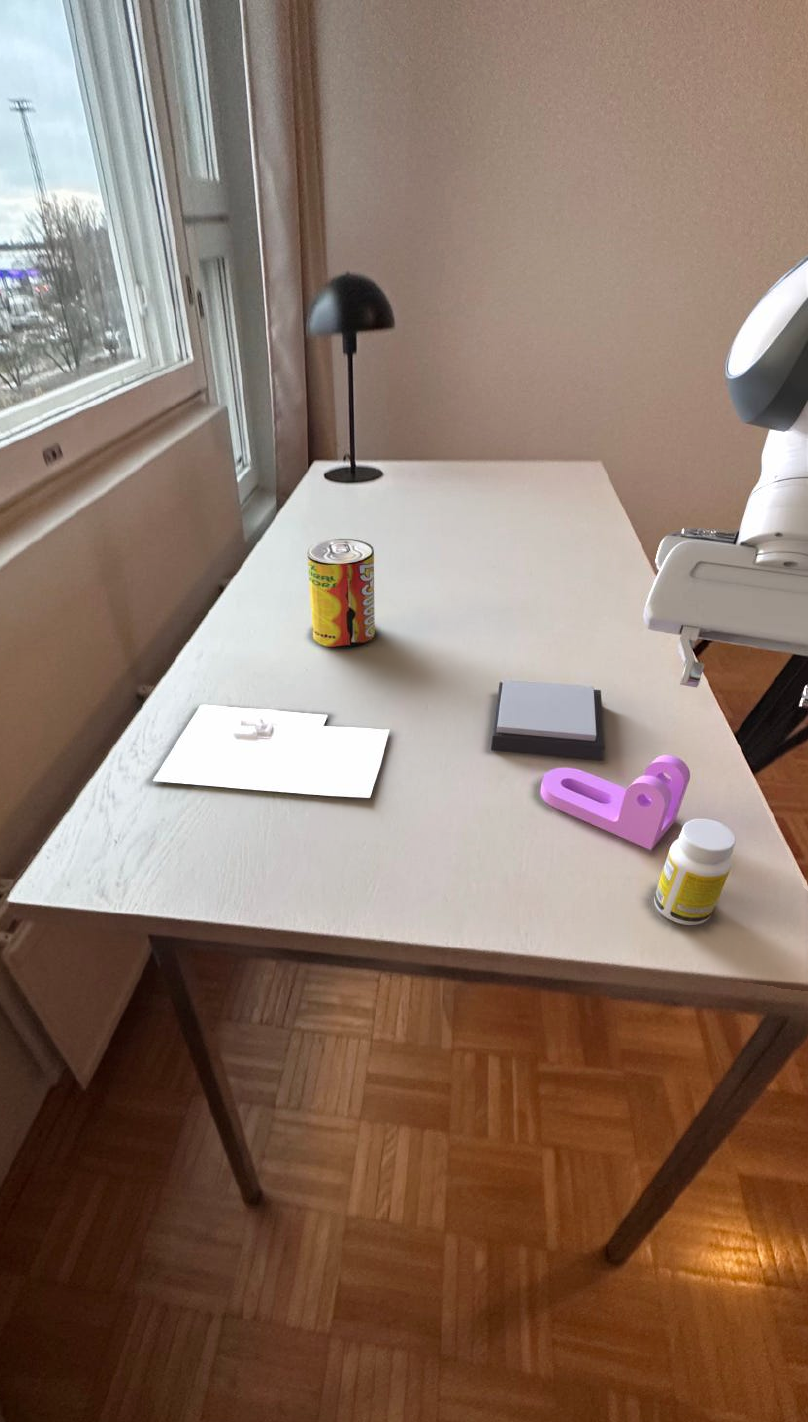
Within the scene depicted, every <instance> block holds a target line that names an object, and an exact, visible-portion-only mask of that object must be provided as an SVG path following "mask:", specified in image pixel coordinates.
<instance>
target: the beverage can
mask: <svg viewBox="0 0 808 1422" xmlns="http://www.w3.org/2000/svg"><path fill="white" fill-rule="evenodd" d="M306 553H307V568H308V569H307V570H308V584H309V597H310V610H311V611H310V612H311V625H312V627H311V628H312V639H314V641H315V642H316V643H317V644H319V645H321V646H324V647H327V648H332V649H351V648H356V647H359V646H362V645H365V644H367V643H369V642H370V641H371V640H372V639H373V638H374V637H375V634H376V631H375V630H376V629H375V627H376V624H375V623H376V622H375V620H376V619H375V617H376V616H375V614H376V613H375V549H374V547H373V546H372V545H371V544H370V543H369V542H366V541H363V540H359V539H354V538H353V539H352V538H335V539H327V540H323V541H320V542H317V543H315V544H313V545H311V546H310V547H309V548H308V549H307V550H306Z"/></svg>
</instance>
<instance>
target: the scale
mask: <svg viewBox="0 0 808 1422" xmlns="http://www.w3.org/2000/svg"><path fill="white" fill-rule="evenodd" d="M603 714H604V713H603V700H602V690H601V689H595V687H594V685H593V686H592V685H579V684H567V683H566V684H565V683H555V682H554V683H553V682H541V681H540V682H539V681H527V680H514V679H502V682H499V684H498V692H497V698H496V707H495V715H494V722H493V730H492V736H491V746H490V751H494V752H504V753H505V752H506V753H515V754H526V755H538V756H548V757H558V758H568V759H569V758H570V759H577V760H579V759H580V760H589V761H602V760H603V756H604V752H605V747H606V745H605V728H604V716H603Z"/></svg>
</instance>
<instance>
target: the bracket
mask: <svg viewBox="0 0 808 1422" xmlns="http://www.w3.org/2000/svg"><path fill="white" fill-rule="evenodd" d="M665 774H667V775H668V776H669V777H670V778H669V777H667V776H666V775H665ZM690 779H691V772H690V768H689V767H688V765H687V764H686V762H685V761H684V760H682V759H681V758H679V757H677V756H675V755H672V754H662V755H659V756H658V757H656V758H654V760H653V761H652V762H651V763H650V764H649V765H648V766H647V767H646V769H645V771H644V775H642V776H638V777H637V778H636V779H635V780H634V781H633V782H632V783H631V784H630V785H629V786H628V787H627V788H625V787H623V786H621V785H619V784H615V783H614V782H612V781H609V780H606V779H604V778H601V777H599V776H596V775H594V774H591V773H589V772H587V771H584V770H581V769H578V768H575V767H574V768H573V767H558V768H554V769H551V770H549V771H547V772H546V773H545V774H544V775H543V777H542V780H541V785H540V791H539V792H540V797H541V799H542V800H543V801H544V802H545V803H546V804H548V805H549V806H550V807H552V808H555V809H557V810H559V811H561V812H564V813H566V814H568V815H570V816H573V817H575V818H577V819H579V820H581V821H584V822H586V823H588V824H591V825H593V826H595V827H597V828H598V829H599V828H600V829H602V830H604V831H607V833H608V832H609V833H611V834H613V835H615V836H617V837H620V838H622V839H624V840H626V841H628V842H631V843H633V844H635V845H637V846H639V847H642V848H644V849H647V850H649V851H652V850H653V849H654V847H656V845H657V844H658V843H659V841H661V839H662V838H663V836H665V834H666V833H667V832H668V830H670V828H671V827H672V826H673V824H674V823H675V822H676V821H677V817H678V814H679V812H680V808H681V805H682V802H683V800H684V797H685V793H686V791H687V788H688V785H689V783H690Z"/></svg>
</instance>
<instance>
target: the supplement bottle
mask: <svg viewBox="0 0 808 1422" xmlns="http://www.w3.org/2000/svg"><path fill="white" fill-rule="evenodd" d="M736 841H737V839H736V836H735V833H734V831H733V830H732V829H730V828H729V827H728V826H727V825H725V824H724V823H722V822H719V821H717V820H714V819H709V818H694V819H691V820H689V821H687V822H685V823H684V824H683V826H682V828H681V831H680V833H679V835H678V838H676V840H674V841H673V842H672V843H671V846H670V848H669V851H668V853H667V855H666V856H667V857H666V860H665V862H664V866H663V868H662V871H661V875H660V878H659V881H658V884H657V887H656V890H655V893H654V897H653V902H654V905H655V908H656V910H658V912H659V913H660V914H661V916H663V917H665V918H667V920H670V921H672V922H674V923H676V924H679V925H684V926H697V925H698V926H699V925H701V924H703V923H705V922H707V921H708V920H709V919H710V918H711V917H712V914H713V913H714V911H715V908H716V906H717V902H718V901H719V898H720V896H721V894H722V891H723V888H724V885H725V884H726V881H727V879H728V876H729V874H730V871H731V869H732V866H733V857H732V854H733V850H734V849H735V845H736Z"/></svg>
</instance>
